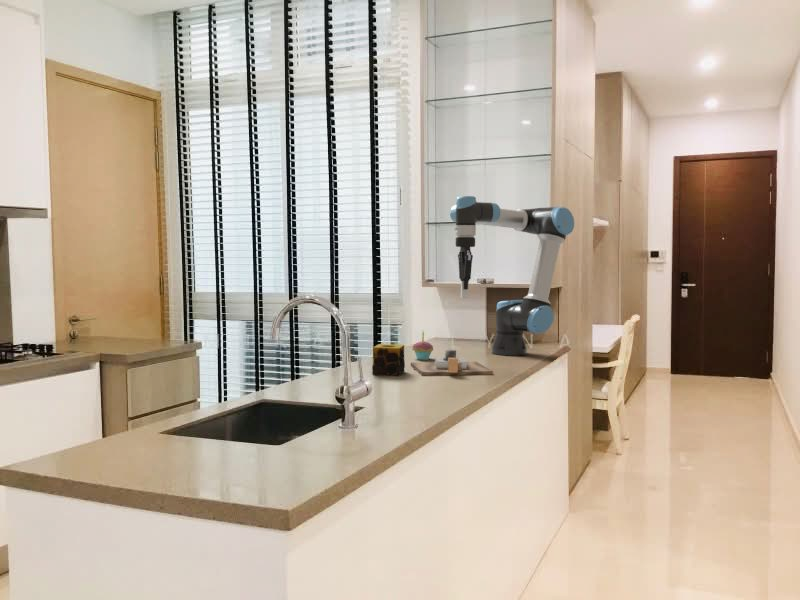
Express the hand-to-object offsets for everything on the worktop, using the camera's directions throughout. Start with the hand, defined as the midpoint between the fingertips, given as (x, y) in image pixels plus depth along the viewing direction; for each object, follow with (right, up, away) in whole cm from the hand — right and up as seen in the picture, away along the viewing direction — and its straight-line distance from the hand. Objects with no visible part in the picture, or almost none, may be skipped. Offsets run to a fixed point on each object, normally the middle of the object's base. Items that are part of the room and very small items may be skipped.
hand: (464, 297), depth 281 cm
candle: (-29, -28, -20) cm, 45 cm away
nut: (-6, -26, -15) cm, 31 cm away
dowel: (-4, -26, -20) cm, 33 cm away
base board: (-6, -27, -11) cm, 30 cm away
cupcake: (-16, -25, +15) cm, 33 cm away
